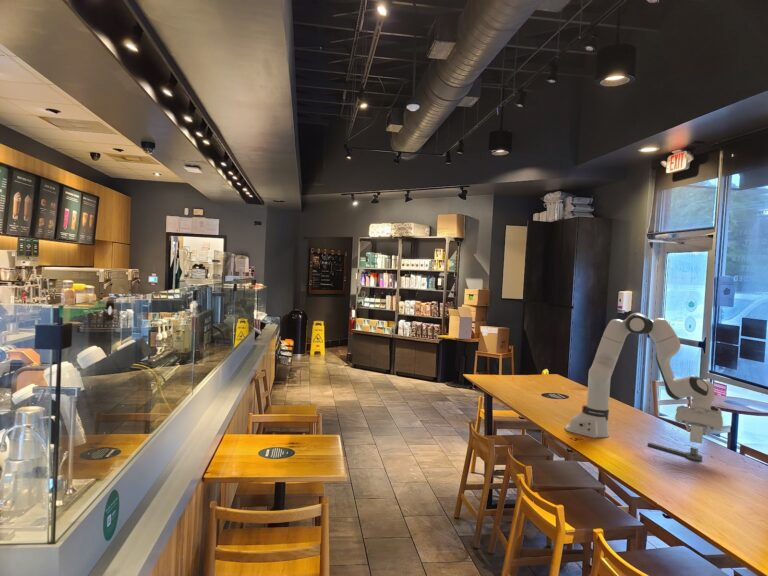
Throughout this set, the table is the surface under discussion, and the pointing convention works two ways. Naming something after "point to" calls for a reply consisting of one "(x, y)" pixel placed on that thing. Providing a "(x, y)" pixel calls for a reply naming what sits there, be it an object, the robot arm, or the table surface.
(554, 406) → the table surface
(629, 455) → the table surface
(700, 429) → the tan wooden block
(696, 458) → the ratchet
